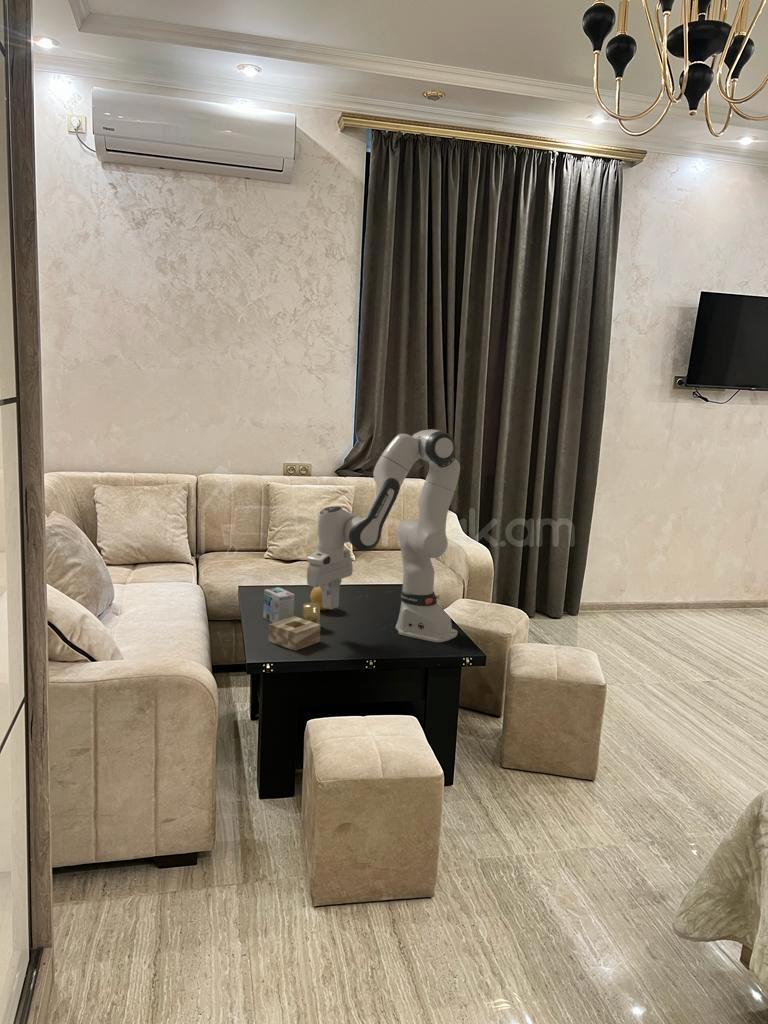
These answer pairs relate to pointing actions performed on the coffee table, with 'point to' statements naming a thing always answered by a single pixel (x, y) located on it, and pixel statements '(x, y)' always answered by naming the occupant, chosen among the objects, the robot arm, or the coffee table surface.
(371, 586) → the coffee table surface
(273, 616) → the light bulb box
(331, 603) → the square bit
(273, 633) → the socket block
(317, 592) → the stress ball
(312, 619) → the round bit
